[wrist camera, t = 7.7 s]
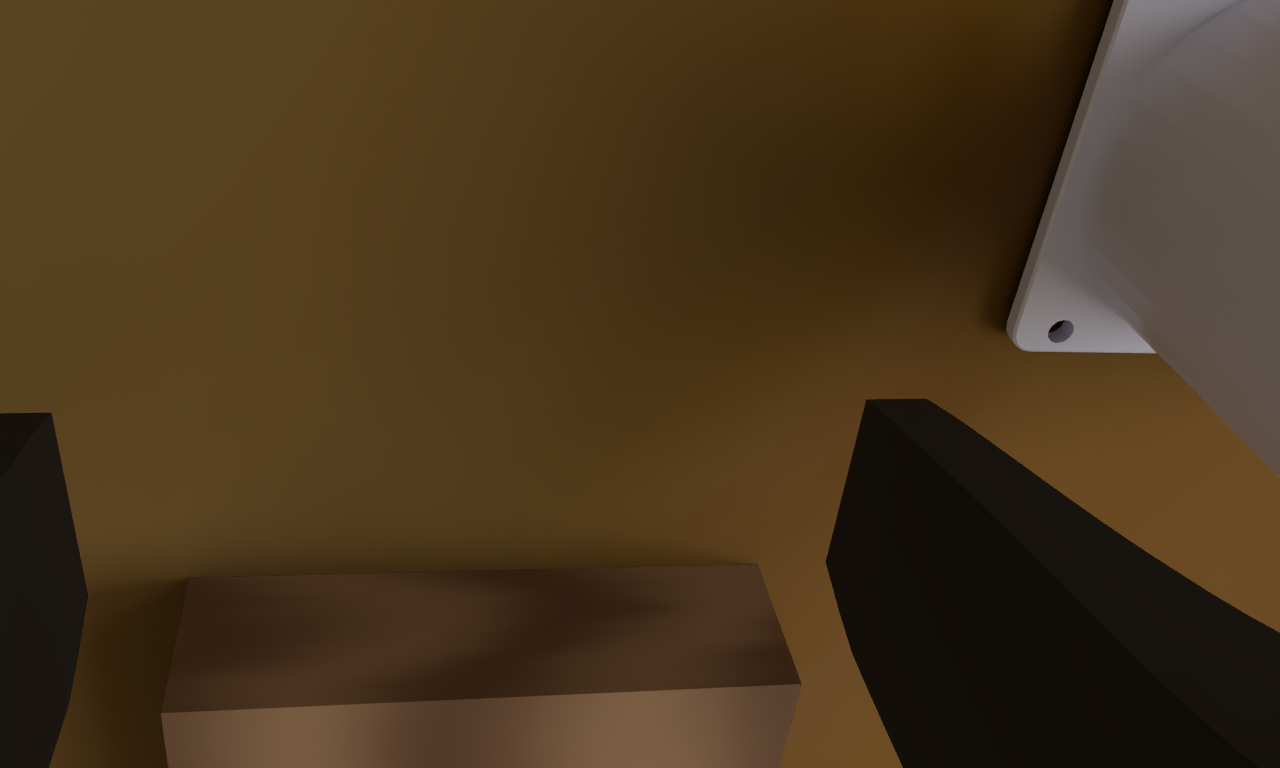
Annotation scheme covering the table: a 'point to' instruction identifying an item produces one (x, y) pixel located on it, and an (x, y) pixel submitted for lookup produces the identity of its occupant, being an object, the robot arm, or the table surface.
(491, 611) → the walnut block
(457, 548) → the table surface
